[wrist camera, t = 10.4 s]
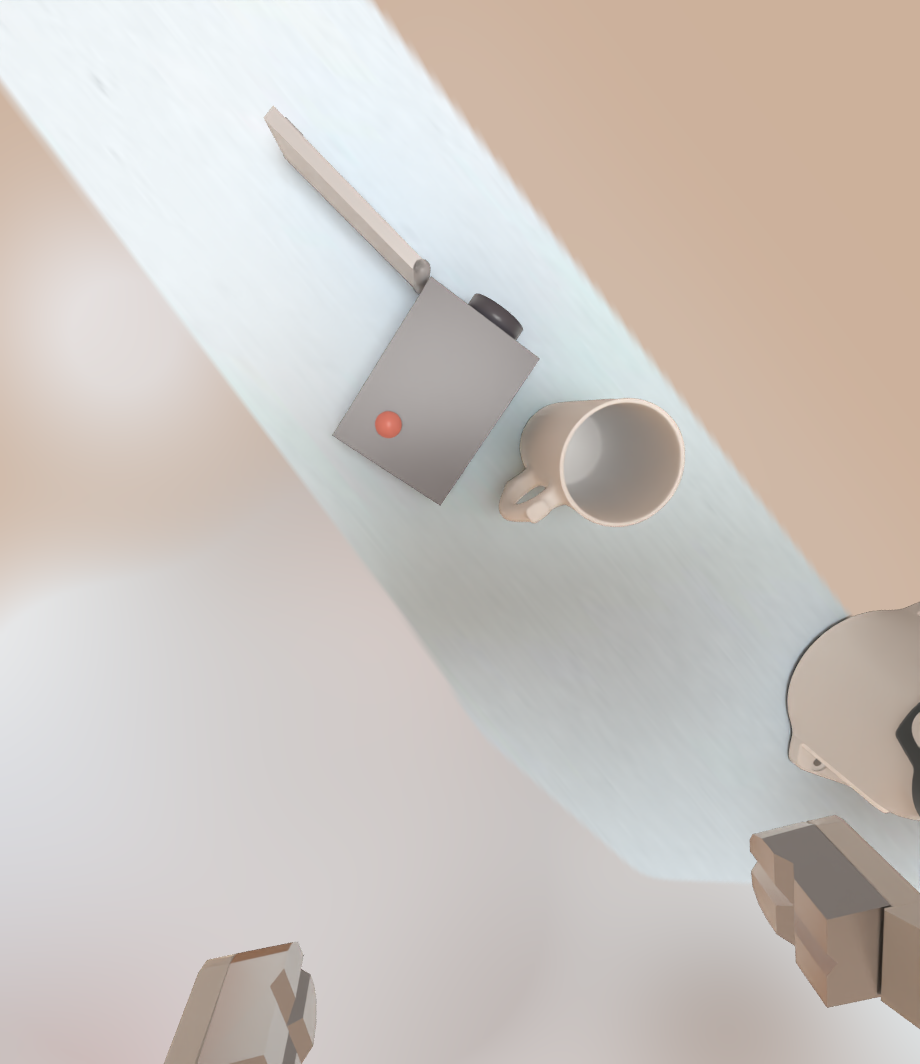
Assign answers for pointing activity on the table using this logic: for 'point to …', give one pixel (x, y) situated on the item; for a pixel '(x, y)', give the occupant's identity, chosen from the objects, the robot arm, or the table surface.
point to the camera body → (438, 389)
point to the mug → (597, 462)
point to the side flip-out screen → (347, 200)
